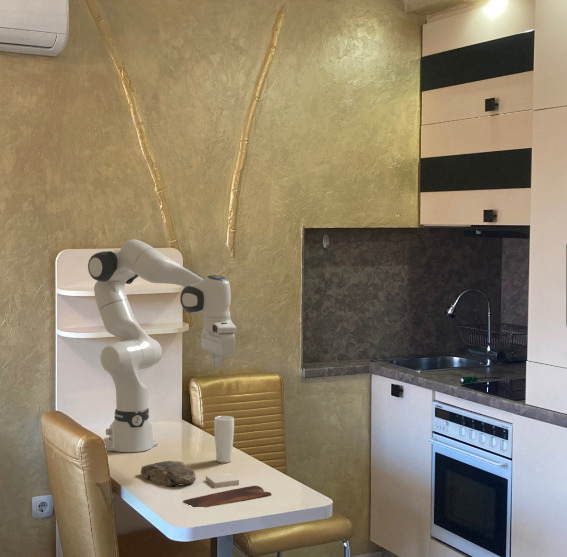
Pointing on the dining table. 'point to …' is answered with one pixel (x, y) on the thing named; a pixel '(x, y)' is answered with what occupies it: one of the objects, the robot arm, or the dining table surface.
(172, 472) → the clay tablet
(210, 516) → the dining table surface
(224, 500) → the wooden tablet
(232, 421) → the drinking glass
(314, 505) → the dining table surface
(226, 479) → the tile
